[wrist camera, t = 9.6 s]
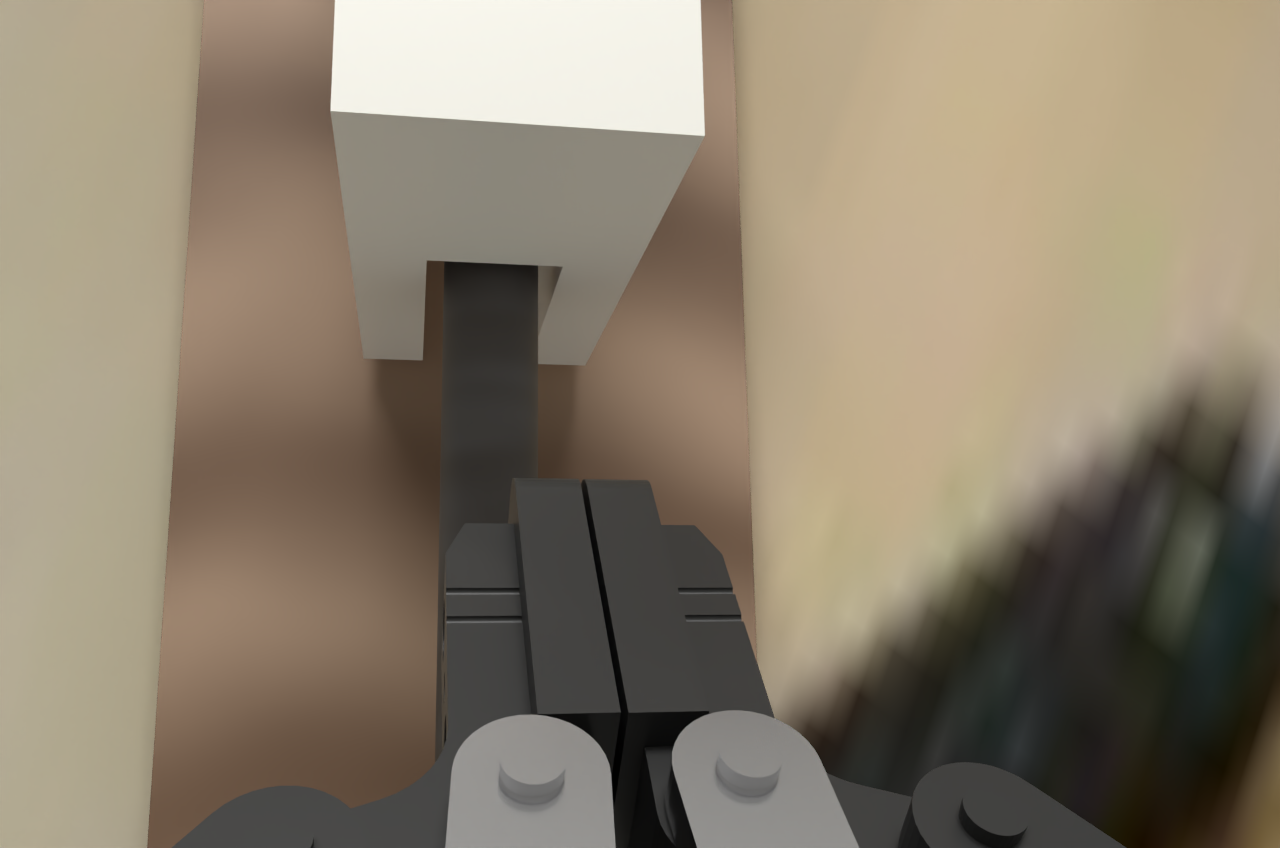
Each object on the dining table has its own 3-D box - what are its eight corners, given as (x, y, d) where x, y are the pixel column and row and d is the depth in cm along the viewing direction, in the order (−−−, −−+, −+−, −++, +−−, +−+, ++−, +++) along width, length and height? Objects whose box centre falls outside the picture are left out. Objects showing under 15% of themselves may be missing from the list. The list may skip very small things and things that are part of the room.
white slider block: (584, 365, 26) (704, 136, 15) (363, 358, 25) (330, 110, 15) (583, 190, 27) (696, -142, 16) (369, 177, 26) (341, -180, 16)
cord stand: (761, 1315, 25) (969, 1678, 15) (127, 1386, 22) (-67, 1855, 13) (712, -94, 32) (835, -418, 22) (225, -144, 29) (143, -524, 20)
